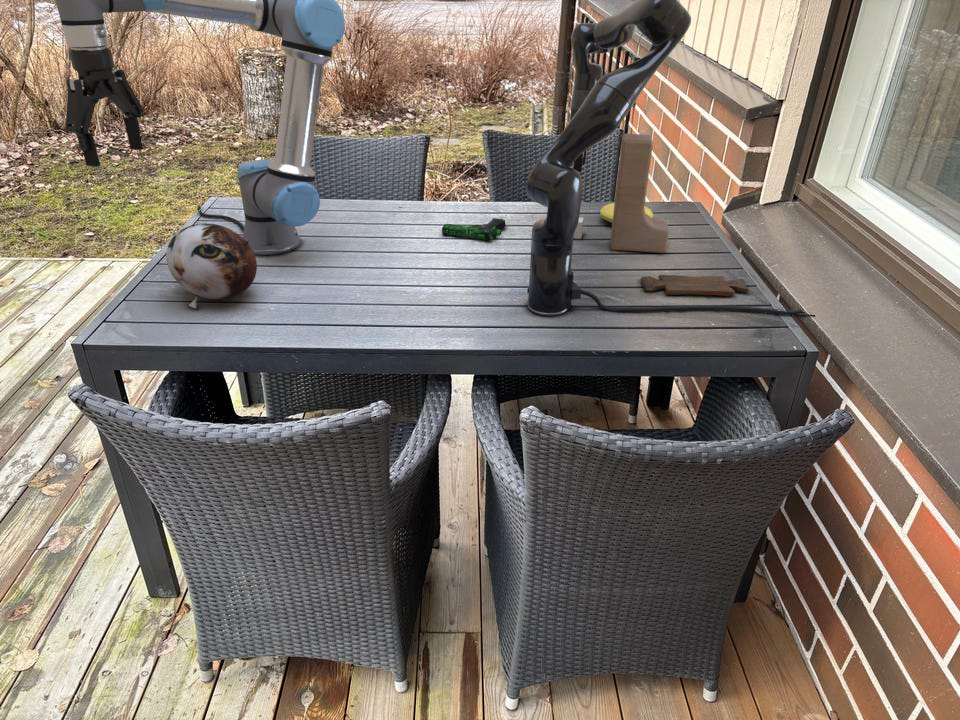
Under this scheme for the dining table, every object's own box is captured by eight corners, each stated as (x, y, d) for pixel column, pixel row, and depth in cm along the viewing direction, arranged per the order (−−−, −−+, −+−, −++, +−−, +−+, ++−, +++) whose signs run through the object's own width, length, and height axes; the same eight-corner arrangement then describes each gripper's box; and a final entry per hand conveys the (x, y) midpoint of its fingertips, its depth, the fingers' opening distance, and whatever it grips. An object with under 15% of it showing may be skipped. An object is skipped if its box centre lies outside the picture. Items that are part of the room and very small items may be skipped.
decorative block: (666, 254, 195) (683, 142, 180) (610, 250, 197) (623, 139, 181) (663, 244, 201) (680, 135, 186) (610, 240, 203) (622, 132, 188)
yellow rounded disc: (613, 210, 226) (616, 188, 222) (660, 220, 218) (663, 198, 214) (589, 223, 215) (592, 200, 211) (638, 235, 207) (641, 211, 203)
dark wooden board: (752, 298, 172) (740, 281, 181) (754, 292, 171) (742, 275, 180) (645, 295, 172) (638, 278, 181) (646, 288, 172) (639, 271, 180)
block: (565, 237, 205) (567, 221, 203) (567, 232, 209) (569, 216, 206) (580, 239, 204) (582, 222, 202) (582, 234, 208) (583, 217, 205)
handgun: (511, 219, 210) (493, 234, 198) (511, 228, 211) (492, 244, 199) (461, 212, 215) (440, 226, 203) (461, 221, 217) (440, 236, 204)
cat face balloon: (130, 285, 161) (164, 203, 163) (192, 308, 177) (221, 233, 178) (195, 307, 151) (229, 220, 152) (254, 330, 166) (285, 250, 168)
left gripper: (58, 57, 128) (89, 174, 139) (146, 41, 149) (167, 144, 160) (23, 55, 130) (57, 171, 141) (115, 39, 151) (138, 141, 162)
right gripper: (596, 112, 182) (590, 175, 190) (602, 102, 194) (595, 162, 202) (567, 110, 183) (562, 173, 191) (574, 100, 195) (569, 160, 203)
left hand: (116, 157), depth 150 cm, fingers open, 13 cm apart
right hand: (579, 167), depth 197 cm, fingers open, 8 cm apart
